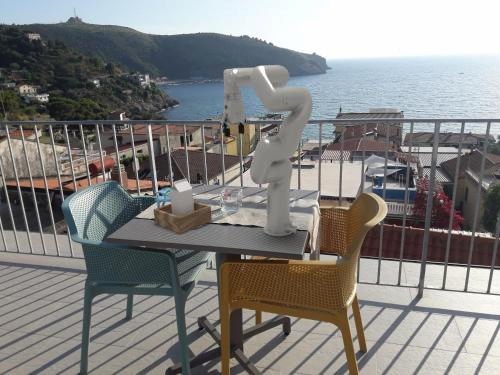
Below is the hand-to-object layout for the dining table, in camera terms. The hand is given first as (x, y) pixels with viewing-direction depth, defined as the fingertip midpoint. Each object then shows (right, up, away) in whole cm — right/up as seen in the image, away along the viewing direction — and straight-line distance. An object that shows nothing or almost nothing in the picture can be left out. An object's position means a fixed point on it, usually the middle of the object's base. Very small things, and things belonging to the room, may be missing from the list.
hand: (234, 135), depth 177 cm
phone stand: (-34, -36, +10) cm, 51 cm away
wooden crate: (-23, -40, -4) cm, 46 cm away
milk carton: (-23, -39, -5) cm, 46 cm away
